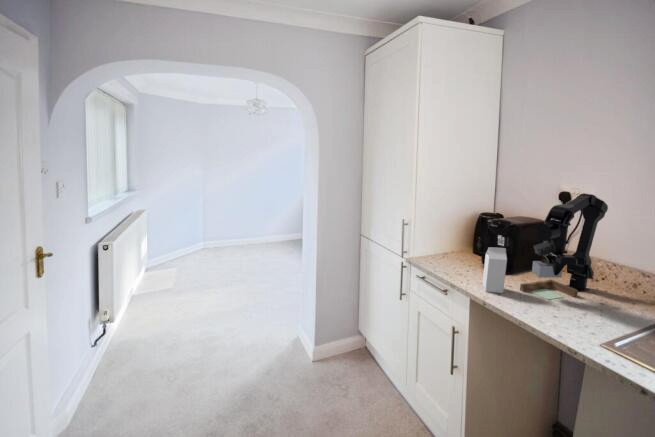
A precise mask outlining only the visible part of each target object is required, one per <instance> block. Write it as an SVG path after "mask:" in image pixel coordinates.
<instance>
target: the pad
mask: <svg viewBox="0 0 655 437" xmlns="http://www.w3.org/2000/svg"><path fill="white" fill-rule="evenodd" d="M529 292H531V293H533V294H535V295H537V296H540V297H542V298H544V299H546V300H555V299H561V298H565V296H563V295H562V294H560V293H556V292H554V291H552V290H550V289H549V288H544V289H537V290H530V291H529Z"/></svg>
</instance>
